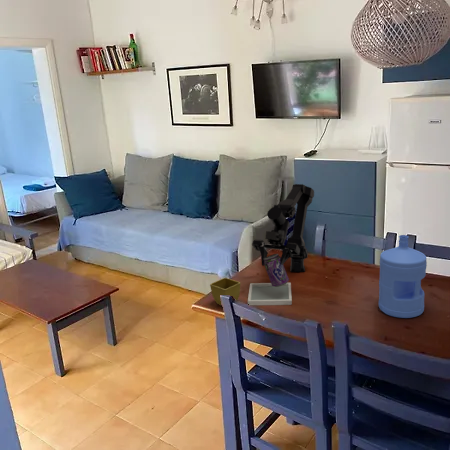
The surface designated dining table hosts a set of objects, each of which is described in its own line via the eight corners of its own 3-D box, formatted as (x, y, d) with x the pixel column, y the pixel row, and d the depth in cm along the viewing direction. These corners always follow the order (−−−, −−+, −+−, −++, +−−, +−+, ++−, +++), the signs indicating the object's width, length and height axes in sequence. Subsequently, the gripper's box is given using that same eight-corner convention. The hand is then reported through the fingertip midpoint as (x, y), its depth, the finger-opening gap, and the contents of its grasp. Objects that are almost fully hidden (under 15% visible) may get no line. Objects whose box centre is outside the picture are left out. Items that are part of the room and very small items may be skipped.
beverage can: (273, 289, 182) (263, 260, 182) (271, 286, 189) (261, 258, 189) (291, 282, 182) (280, 254, 182) (288, 280, 189) (277, 252, 189)
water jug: (369, 307, 175) (370, 235, 167) (398, 295, 182) (401, 227, 174) (403, 323, 161) (406, 247, 153) (433, 310, 169) (438, 236, 161)
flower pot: (226, 297, 191) (225, 277, 189) (242, 303, 185) (241, 282, 183) (211, 305, 186) (209, 284, 183) (226, 311, 179) (224, 289, 177)
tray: (250, 287, 199) (250, 283, 199) (290, 286, 197) (290, 282, 196) (247, 305, 183) (247, 301, 182) (291, 304, 181) (291, 300, 180)
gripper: (252, 220, 188) (242, 255, 182) (296, 223, 180) (287, 260, 174) (261, 232, 197) (251, 266, 191) (303, 236, 189) (295, 272, 183)
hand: (270, 266), depth 185 cm, fingers closed on beverage can, 7 cm apart
